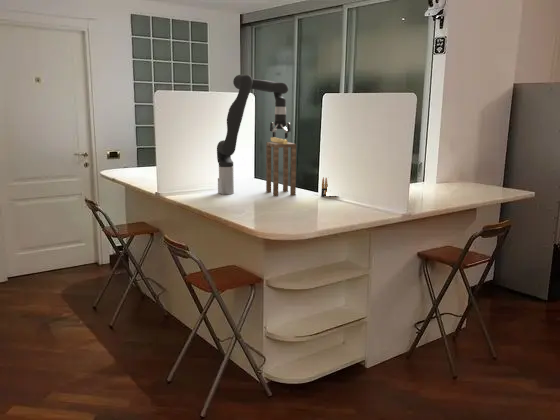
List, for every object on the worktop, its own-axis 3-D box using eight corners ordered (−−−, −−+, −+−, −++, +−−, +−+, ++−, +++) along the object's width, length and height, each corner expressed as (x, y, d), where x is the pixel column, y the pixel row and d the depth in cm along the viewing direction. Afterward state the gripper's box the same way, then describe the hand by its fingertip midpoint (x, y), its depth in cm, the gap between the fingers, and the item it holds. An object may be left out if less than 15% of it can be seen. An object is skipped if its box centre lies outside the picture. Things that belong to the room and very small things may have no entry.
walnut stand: (266, 191, 337) (266, 142, 330) (286, 190, 341) (286, 141, 335) (274, 196, 322) (274, 144, 315) (295, 195, 327) (296, 143, 320)
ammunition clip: (338, 196, 323) (339, 177, 321) (338, 197, 321) (339, 177, 319) (321, 195, 325) (321, 176, 322) (321, 196, 323) (321, 177, 321)
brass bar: (270, 141, 339) (270, 137, 339) (274, 140, 340) (274, 137, 340) (283, 144, 317) (283, 140, 317) (287, 144, 318) (287, 140, 318)
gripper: (268, 113, 347) (268, 138, 350) (288, 114, 341) (287, 139, 345) (273, 113, 354) (273, 137, 357) (292, 113, 348) (292, 138, 351)
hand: (280, 138), depth 351 cm, fingers open, 8 cm apart
